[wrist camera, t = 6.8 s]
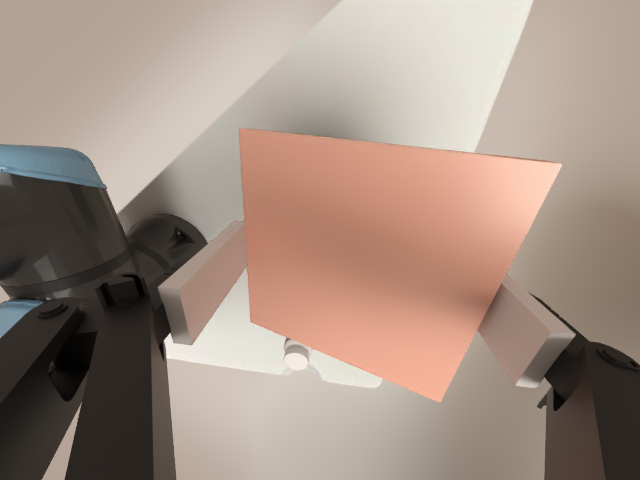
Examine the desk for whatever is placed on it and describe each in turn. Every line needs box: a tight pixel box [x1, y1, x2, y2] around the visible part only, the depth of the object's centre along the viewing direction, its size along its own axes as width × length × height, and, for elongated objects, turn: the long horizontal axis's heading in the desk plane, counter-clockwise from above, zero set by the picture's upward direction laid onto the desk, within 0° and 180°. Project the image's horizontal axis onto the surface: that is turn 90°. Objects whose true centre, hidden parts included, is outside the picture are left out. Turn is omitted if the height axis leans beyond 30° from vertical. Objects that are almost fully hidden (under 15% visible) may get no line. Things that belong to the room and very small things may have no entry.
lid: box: [239, 129, 562, 402], centre depth 13 cm, size 13×13×2 cm
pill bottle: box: [284, 337, 312, 370], centre depth 49 cm, size 6×6×10 cm
